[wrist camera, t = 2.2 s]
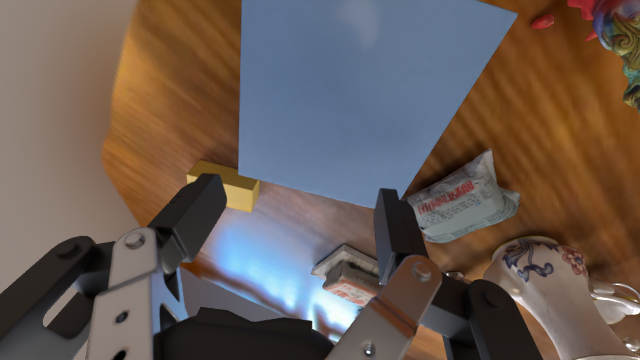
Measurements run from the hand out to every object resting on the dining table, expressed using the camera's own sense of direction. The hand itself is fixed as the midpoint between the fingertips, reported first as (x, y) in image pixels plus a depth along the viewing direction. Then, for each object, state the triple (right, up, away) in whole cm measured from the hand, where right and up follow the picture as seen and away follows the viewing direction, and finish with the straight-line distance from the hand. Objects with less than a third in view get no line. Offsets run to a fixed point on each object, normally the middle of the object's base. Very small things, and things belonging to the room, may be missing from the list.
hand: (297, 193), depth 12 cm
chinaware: (+32, -12, +24) cm, 42 cm away
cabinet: (+3, +10, +10) cm, 15 cm away
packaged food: (+17, 0, +17) cm, 24 cm away
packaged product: (+10, -17, +30) cm, 36 cm away
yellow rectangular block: (-11, +1, +19) cm, 22 cm away
